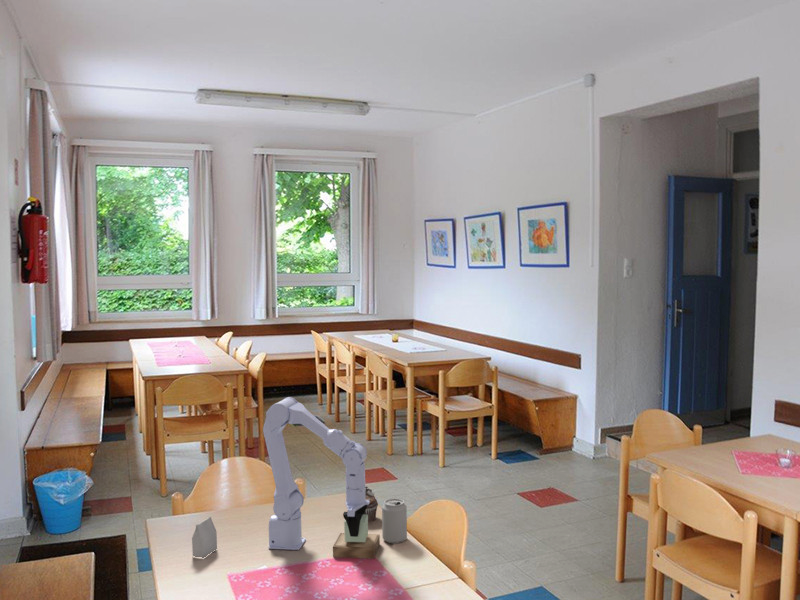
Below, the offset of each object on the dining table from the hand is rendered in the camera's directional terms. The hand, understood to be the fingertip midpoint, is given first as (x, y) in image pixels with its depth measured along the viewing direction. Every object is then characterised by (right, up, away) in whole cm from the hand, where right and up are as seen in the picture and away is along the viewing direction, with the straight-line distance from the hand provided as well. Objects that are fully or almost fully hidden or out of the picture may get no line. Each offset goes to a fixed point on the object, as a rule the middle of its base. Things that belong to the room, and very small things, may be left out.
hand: (356, 531), depth 208 cm
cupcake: (+1, -4, +25) cm, 26 cm away
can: (+11, -5, +8) cm, 15 cm away
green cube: (0, -2, 0) cm, 2 cm away
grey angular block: (-44, -7, 0) cm, 45 cm away
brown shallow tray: (0, -6, 0) cm, 6 cm away
